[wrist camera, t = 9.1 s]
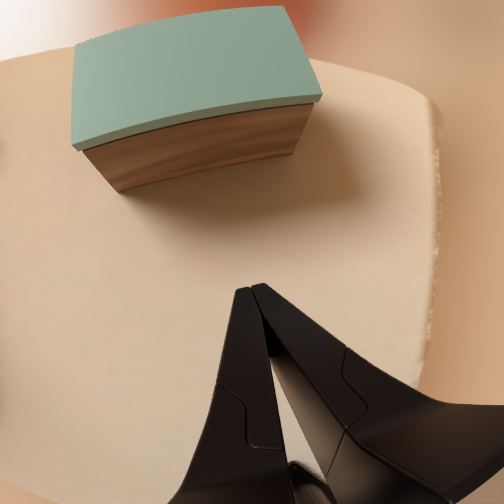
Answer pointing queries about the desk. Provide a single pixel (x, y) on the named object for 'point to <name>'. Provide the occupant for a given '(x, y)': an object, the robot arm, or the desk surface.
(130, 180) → the walnut box
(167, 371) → the desk surface
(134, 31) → the lid
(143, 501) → the desk surface
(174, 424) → the desk surface
